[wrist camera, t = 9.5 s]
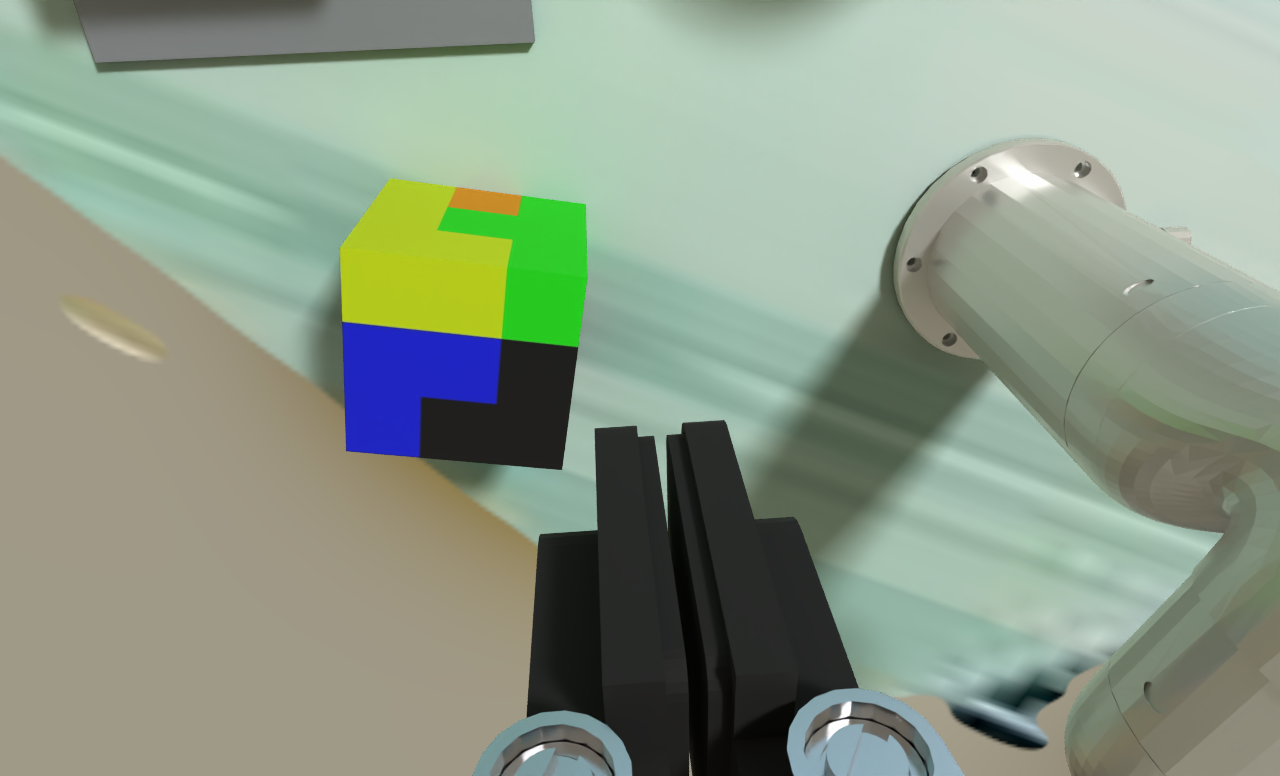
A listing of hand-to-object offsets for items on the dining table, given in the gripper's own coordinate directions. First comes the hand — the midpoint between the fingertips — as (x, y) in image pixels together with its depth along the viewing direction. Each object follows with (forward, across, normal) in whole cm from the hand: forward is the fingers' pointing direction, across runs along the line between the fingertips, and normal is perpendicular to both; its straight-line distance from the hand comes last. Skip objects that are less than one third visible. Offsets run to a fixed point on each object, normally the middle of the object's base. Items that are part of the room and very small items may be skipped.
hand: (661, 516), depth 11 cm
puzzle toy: (+33, +7, +10) cm, 36 cm away
